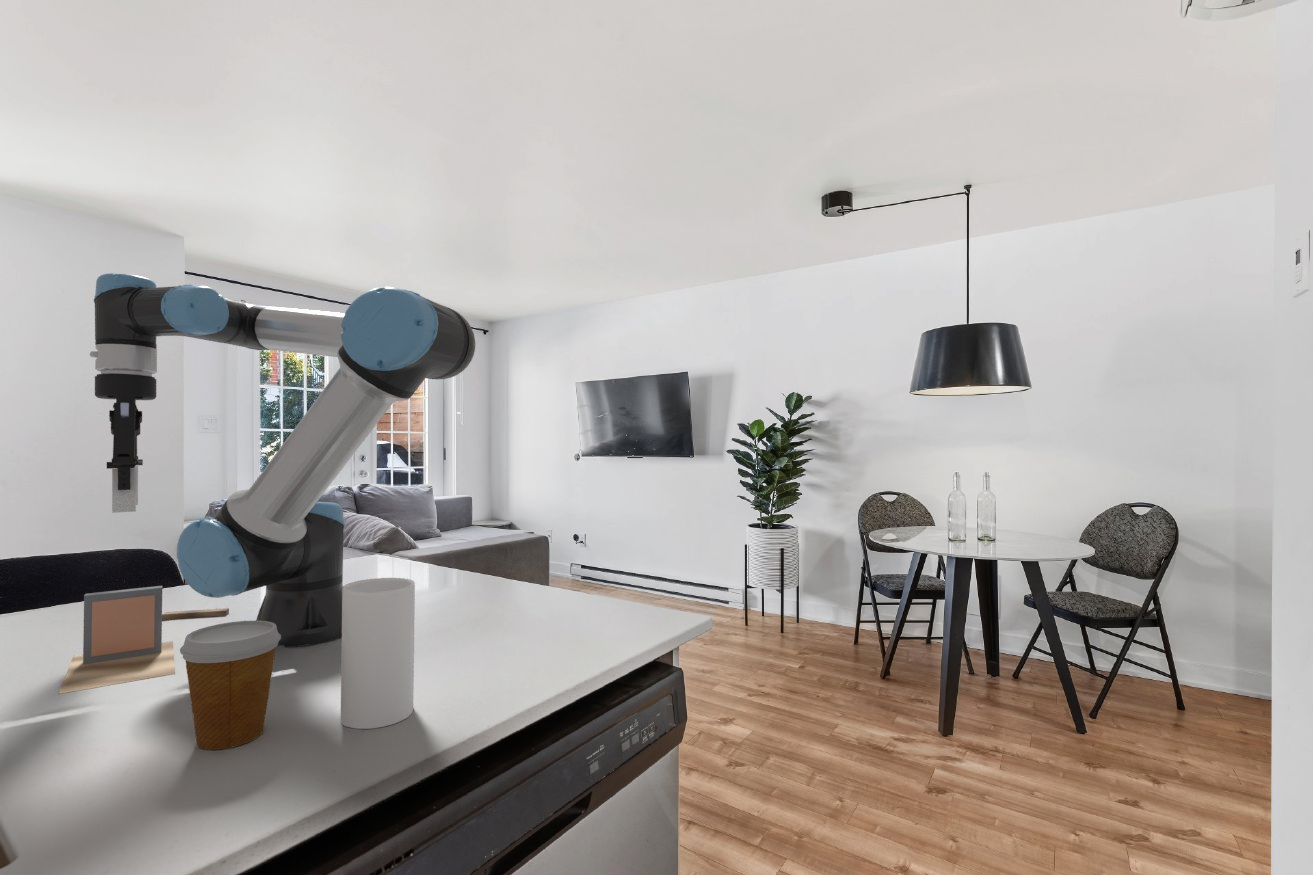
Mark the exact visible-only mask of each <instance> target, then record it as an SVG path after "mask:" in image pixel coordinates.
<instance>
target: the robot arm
mask: <svg viewBox="0 0 1313 875" xmlns="http://www.w3.org/2000/svg"><path fill="white" fill-rule="evenodd" d="M95 282H96V284H95V295H94V298H93V303H94V340H95V342H94V343H95V349H96V350H97V351H96V350H91V351H90V352H89V357H90V358H96V359H94V360H95V363H94V364H95V365H94V366H95V370H96V371H98V372H100V373H98V374H96V375H94V396H95V397H96V398H98V399H102V400H116V402H114V403H113V405H112V409H113V410H109V415H108V416H109V422H110V434H111V435H112V437H113V439H112V440H113V443H112V458H111V461H106V469H111V474H112V476H111V478H112V479H111V480H112V482H111V483H112V485H111V486H112V487H111V489H112V490H111V495H112V496H111V498H112V500H111V501H112V502H111V504H112V505H111V512H112V513H113V514H114V513H131V512H132V513H133V512H136V511H137V506H138V505H139V466H143V464H144V460H143V458H142V459H139V456H138V436H140V435H141V424H142V423H143V411H141V410H139V409H138V407H137V403H136V402H137V401H152V400H155V399H156V398H157V379H156V378H155V376H153V375H156V373H157V372H158V349H157V337H173V336H174V337H177V336H178V337H180V336H181V337H185V338H193V339H199V340H203V341H209V342H215V343H220V344H227V345H232V346H236V347H237V346H238V347H242V348H246V349H249V350H256V351H280V352H290V353H296V354H297V353H298V354H306V355H315V356H324V357H325V356H326V357H331V358H332V357H333V358H337V359H338V364H339V367H338V368H339V369H338V370H337V371H336V373H335V374H334V375H333V376H332V378H331V379H330V380H329V382H328V383H327V385H325V387H324V388H323V389H322V391H321V392H320V394H319V395H318V397H317V398H316V399H315V400H314V402H313V403H312V405H311V406H310V407H309V409H308V410H307V411H306V413H305V414H304V415H303V416H302V417H301V419H300V421H299V422H298V423H297V424H296V426H295V427H294V429H293V430H292V431H291V433H290V434H289V435H288V437H287V438H286V440H284V442H283V443H282V445H281V446H280V447H279V449H278V450H277V451H276V453H275V454H274V456H273V457H272V458H271V460H270V461H269V462H268V464H267V465H266V466H265V467H264V469H263V470H262V471H261V473H260V474H259V476H258V477H257V479H256V480H254V483H253V484H252V485H251V486H250V488H249V489H241V490H237V491H234V492H233V493H231V495H229V497H228V498H227V499H226V500H225V502H224V503H223V505H222V506H221V507H220V508H219V510H218V511H217V513H216V514H215V515H214V516H212V517H203V518H200V519H198V520H196V521H193V522H191V523H190V524H188V525H187V526H186V527H185V528H184V529H183V530H182V532H181V533H180V536H179V538H178V542H177V545H176V559H177V562H178V564H177V565H178V568H179V571H180V574H181V576H182V578H183V579H184V581H185V582H186V584H187V585H188V586H189V587H190V588H191V589H192V590H194V591H195V592H196V593H198V594H199V595H202V596H204V597H208V598H215V599H217V598H224V597H228V596H229V597H230V596H231V597H234V596H238V595H241V594H242V593H245V592H249V591H252V590H257V589H259V588H262V587H265V595H264V597H263V600H262V603H261V606H260V608H259V610H258V613H257V616H256V620H255V621H268V622H272V623H274V624H276V627H277V631H278V633H279V634H281V639H280V640H279V641H278V645H277V646H284V648H294V647H305V646H310V645H318V644H322V643H326V642H330V641H334V640H336V639H337V640H338V639H339V638H342V590H343V586H344V585H343V584H344V583H343V581H344V580H343V578H344V576H343V573H344V569H343V568H344V529H345V526H346V523H345V522H344V510H343V507H342V506H341V505H340V504H339V503H337V502H328V501H326V502H325V501H319V500H320V498H322V496H323V495H324V494H325V492H326V491H327V489H328V488H329V487H330V486H331V484H332V483H333V482H334V480H336V478H337V476H338V475H339V474H340V473H341V471H342V470H343V469H344V467H345V466H346V465H347V463H348V462H349V461H350V460H351V459H352V457H353V456H354V454H355V453H356V452H357V450H358V449H359V447H360V446H361V445H362V444H363V442H364V441H365V440H366V439H367V437H368V436H369V435H370V433H372V431H373V429H374V428H375V427H376V426H377V424H378V423H379V422H380V420H381V419H382V418H383V417H384V415H385V414H386V413H387V411H388V410H389V409H390V408H391V406H392V405H393V403H395V402H402V401H408V400H410V399H411V398H412V396H413V395H414V394H415V393H416V391H417V390H418V388H420V386H421V385H422V383H423V382H424V381H425V379H429V380H448V379H451V378H453V377H456V376H458V375H460V374H461V373H462V372H464V371H465V369H466V368H468V366H469V365H470V364H471V362H472V360H473V358H474V355H475V352H476V338H475V333H474V331H473V329H472V326H471V325H470V323H469V321H467V319H466V318H465V317H464V316H463V315H462V314H460V313H459V312H458V311H456V310H454V309H452V308H451V307H448V306H446V305H442V304H440V303H438V302H435V301H433V300H431V299H428V298H426V297H424V296H422V295H420V294H419V293H418V292H415V291H412V290H407V289H401V288H399V287H398V288H397V287H393V286H383V287H376V288H373V289H371V290H367V291H365V292H363V293H361V294H360V295H359V296H358V297H356V298H355V299H354V300H353V301H352V302H351V304H350V305H349V306H348V307H347V309H346V311H345V312H344V313H342V312H341V313H340V312H333V311H332V312H331V311H321V310H313V309H311V310H309V309H302V308H301V309H299V308H291V307H280V306H268V305H259V304H251V303H245V302H240V301H236V300H232V299H229V298H226V297H224V296H222V295H221V294H220V293H218V292H217V290H215V288H212V287H209V286H206V285H193V284H183V285H181V284H180V285H177V286H176V285H174V286H161V287H157V284H156V282H154V281H153V280H152V279H150V278H147V277H144V276H140V275H134V274H128V273H116V272H115V273H113V272H110V273H103V274H101V275H100V276H98V277H97V278H96V281H95Z"/></svg>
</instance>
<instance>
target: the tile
mask: <svg viewBox="0 0 1313 875" xmlns="http://www.w3.org/2000/svg"><path fill="white" fill-rule="evenodd" d="M162 614H163V585H156V586H147V587H138V588H136V587H135V588H127V589H118V590H108V591H98V592H91V593H85V594H84V595H83V634H82V636H83V637H82V638H83V641H82V642H83V644H82V645H83V646H82V649H83V650H82V654H83V665H84V664H91V663H97V662H103V661H110V660H116V659H123V658H129V657H136V656H142V655H148V654H155V653H161V646H162V643H163V639H162V638H163V636H162V635H163V632H162V631H163V630H162V626H163V621H162Z"/></svg>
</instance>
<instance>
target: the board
mask: <svg viewBox="0 0 1313 875" xmlns="http://www.w3.org/2000/svg"><path fill="white" fill-rule="evenodd" d="M174 653H175V651H174V641H173V640H172V641H171V640H169V641H164V642H163V641H162V646H161V653H155V654H148V655H142V656H136V657H129V658H123V659H116V660H110V661H103V662H97V663H91V664H84V665H83V653H82V654H77V655H76V654H75V655H73V656H72V659H71V661H70V664H69V666H68V669H67V671H66V673H65V676H64V679H63V682H62V684H61V686H60V690H59V692H58V695H61V694H67V693H74V692H78V691H79V692H80V691H85V690H90V689H96V688H102V687H109V686H114V685H120V684H126V683H132V682H137V681H143V680H149V679H155V678H161V677H166V676H172V675H176V667H175V665H176V664H175V654H174Z"/></svg>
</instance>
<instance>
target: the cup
mask: <svg viewBox="0 0 1313 875" xmlns="http://www.w3.org/2000/svg"><path fill="white" fill-rule="evenodd" d="M415 584H416V583H415V580H413V579H410V578H405V577H376V578H366V579H361V580H356V581H352V582H349V583H346V584H345V585H343V590H342V637H341V658H340V660H341V662H340V663H341V666H340V671H341V672H340V673H341V674H340V723H341V724H342V725H343V726H345V727H346V728H347V727H348V728H351V729H355V730H356V729H357V730H368V729H371V730H372V729H379V728H385V727H387V726H391V725H394V724H397V723H400V722H402V721H404V720H405V719H407V718H408V717H410V716H411V714H413V712H414V694H415V693H414V689H415V687H414V678H415V671H414V670H415V614H416V613H415V607H416V606H415V605H416V604H415V603H416V601H415V600H416V598H415V596H416V594H415V593H416V588H415V587H416V585H415Z"/></svg>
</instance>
